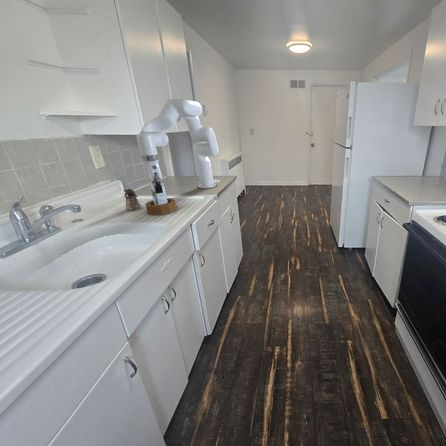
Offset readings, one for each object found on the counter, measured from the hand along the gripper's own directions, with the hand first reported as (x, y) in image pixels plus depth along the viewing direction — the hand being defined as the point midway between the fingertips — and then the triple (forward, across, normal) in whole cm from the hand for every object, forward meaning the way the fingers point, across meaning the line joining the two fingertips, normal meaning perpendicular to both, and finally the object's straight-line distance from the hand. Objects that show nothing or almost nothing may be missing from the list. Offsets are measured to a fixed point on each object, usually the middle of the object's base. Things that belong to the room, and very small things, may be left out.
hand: (158, 191), depth 139 cm
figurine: (+11, +14, +12) cm, 22 cm away
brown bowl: (+11, 0, 0) cm, 11 cm away
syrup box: (+10, 0, 0) cm, 10 cm away
